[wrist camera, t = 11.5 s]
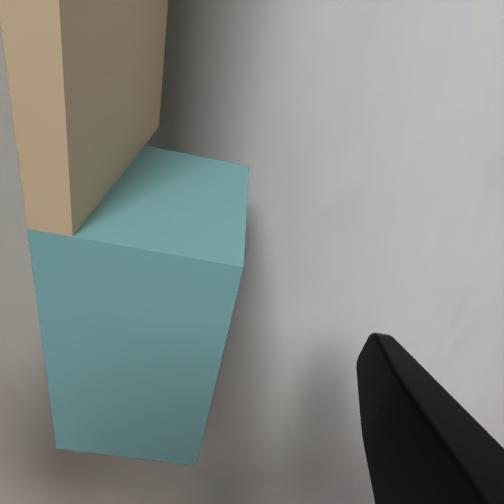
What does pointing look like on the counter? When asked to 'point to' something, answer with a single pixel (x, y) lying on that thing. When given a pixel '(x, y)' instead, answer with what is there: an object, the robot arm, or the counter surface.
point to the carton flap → (119, 230)
